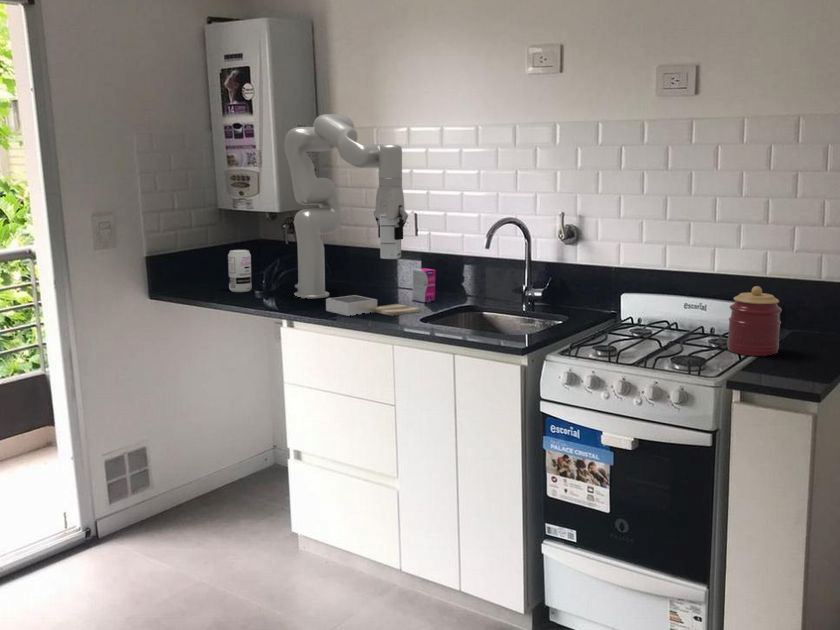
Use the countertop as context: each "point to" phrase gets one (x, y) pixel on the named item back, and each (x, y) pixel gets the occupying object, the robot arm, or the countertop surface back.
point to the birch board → (396, 309)
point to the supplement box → (423, 285)
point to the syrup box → (388, 239)
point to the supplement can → (239, 270)
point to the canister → (754, 324)
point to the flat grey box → (351, 305)
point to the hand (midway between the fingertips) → (390, 238)
